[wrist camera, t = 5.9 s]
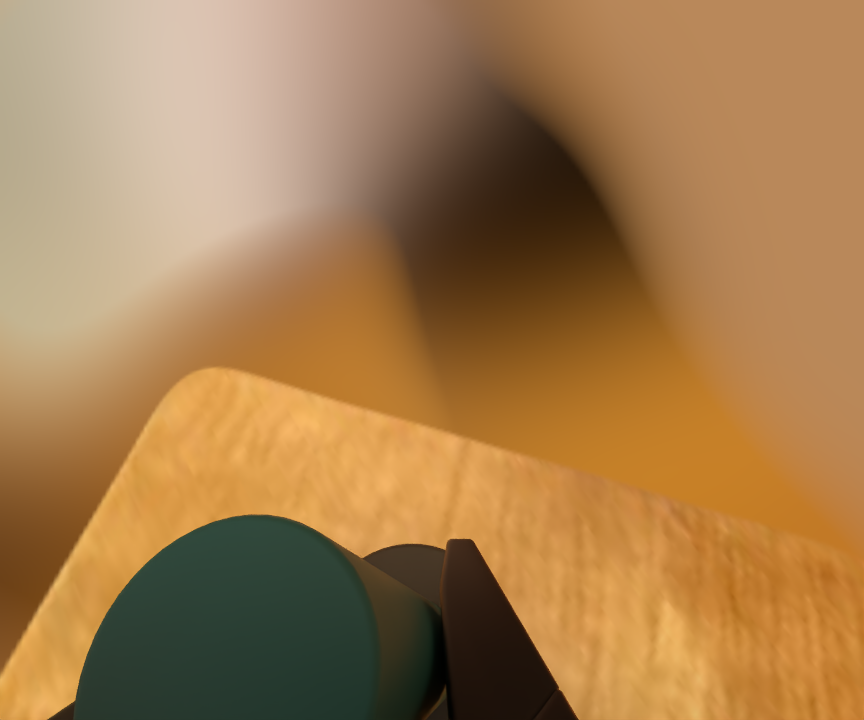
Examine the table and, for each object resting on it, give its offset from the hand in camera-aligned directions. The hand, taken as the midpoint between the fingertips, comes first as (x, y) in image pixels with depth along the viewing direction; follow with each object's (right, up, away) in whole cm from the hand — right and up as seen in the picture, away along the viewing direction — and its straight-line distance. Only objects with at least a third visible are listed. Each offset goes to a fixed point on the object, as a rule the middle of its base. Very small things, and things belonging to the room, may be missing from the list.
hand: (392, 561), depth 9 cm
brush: (+1, -4, +5) cm, 7 cm away
